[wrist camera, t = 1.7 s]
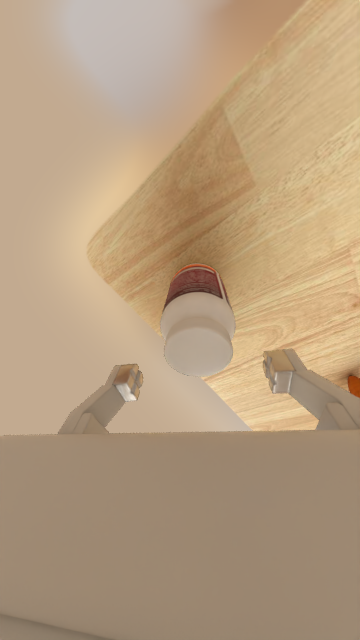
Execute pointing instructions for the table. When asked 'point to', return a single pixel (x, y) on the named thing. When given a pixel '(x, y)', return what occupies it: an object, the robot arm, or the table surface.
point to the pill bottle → (197, 322)
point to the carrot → (354, 385)
